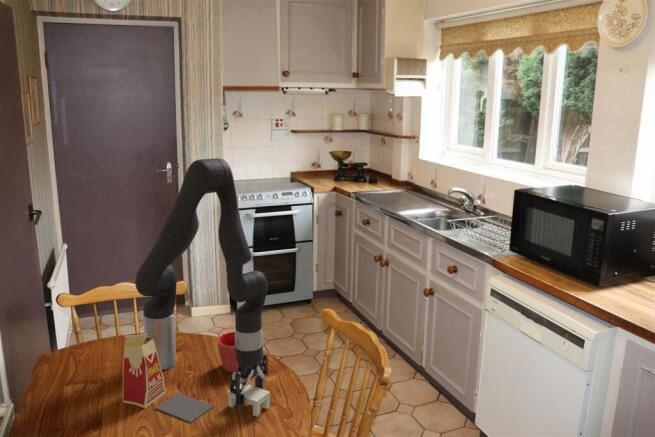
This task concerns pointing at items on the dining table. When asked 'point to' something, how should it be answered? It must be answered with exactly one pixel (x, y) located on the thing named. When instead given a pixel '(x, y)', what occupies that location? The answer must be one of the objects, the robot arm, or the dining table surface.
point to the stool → (252, 398)
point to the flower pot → (228, 351)
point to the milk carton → (141, 372)
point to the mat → (184, 407)
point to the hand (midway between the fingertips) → (250, 397)
